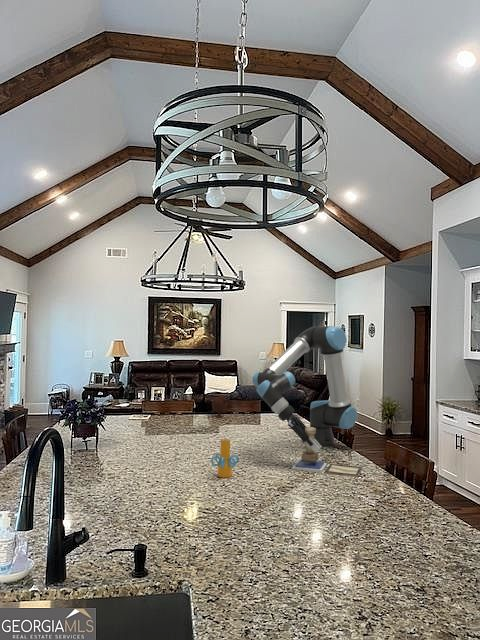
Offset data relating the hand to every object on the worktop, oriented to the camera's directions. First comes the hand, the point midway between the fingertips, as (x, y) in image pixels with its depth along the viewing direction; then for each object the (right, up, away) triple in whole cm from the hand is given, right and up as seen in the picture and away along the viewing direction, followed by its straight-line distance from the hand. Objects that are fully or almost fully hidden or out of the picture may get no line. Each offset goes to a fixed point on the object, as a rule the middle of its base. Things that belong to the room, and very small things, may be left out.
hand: (318, 449), depth 239 cm
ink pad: (-4, -8, +1) cm, 9 cm away
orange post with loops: (-41, -7, -15) cm, 45 cm away
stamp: (-4, -5, +1) cm, 6 cm away
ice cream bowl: (-49, -9, +129) cm, 139 cm away
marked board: (+10, -8, -4) cm, 14 cm away
